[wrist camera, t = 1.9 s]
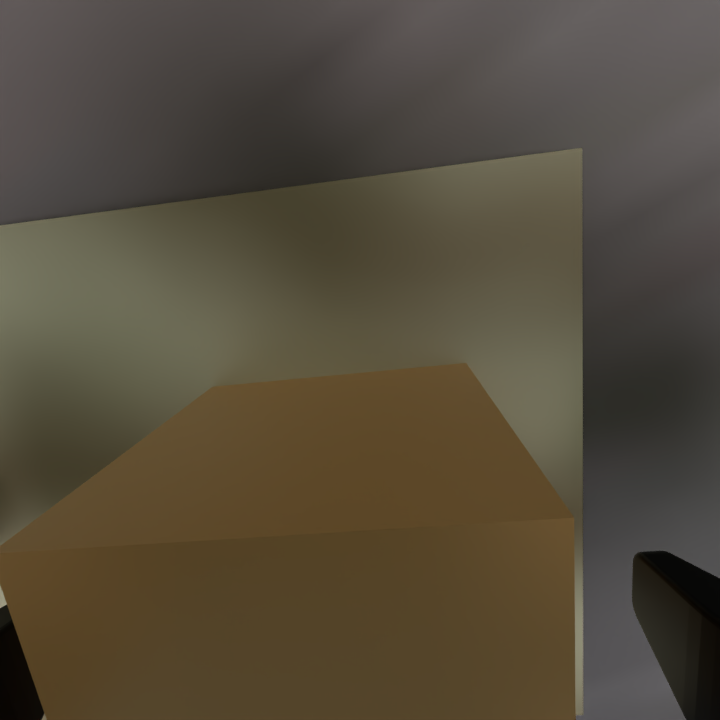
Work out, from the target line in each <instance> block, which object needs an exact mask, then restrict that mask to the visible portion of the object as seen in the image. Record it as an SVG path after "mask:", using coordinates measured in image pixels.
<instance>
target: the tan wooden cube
mask: <svg viewBox="0 0 720 720" xmlns="http://www.w3.org/2000/svg"><path fill="white" fill-rule="evenodd" d="M0 586H1V589H2V591H3V594H4V597H5V600H6V603H7V606H8V609H9V612H10V615H11V618H12V620H13V623H14V626H15V629H16V632H17V635H18V638H19V641H20V644H21V647H22V649H23V652H24V655H25V658H26V661H27V664H28V667H29V670H30V673H31V676H32V679H33V681H34V684H35V687H36V690H37V693H38V696H39V699H40V702H41V705H42V708H43V710H44V713H45V716H46V719H47V720H576V707H575V555H574V517H573V515H572V514H571V512H570V511H569V509H568V508H567V507H566V505H565V504H564V502H563V501H562V499H561V498H560V497H559V495H558V494H557V492H556V491H555V489H554V488H553V486H552V485H551V484H550V482H549V481H548V479H547V478H546V476H545V475H544V474H543V472H542V471H541V469H540V468H539V466H538V465H537V464H536V462H535V461H534V459H533V458H532V456H531V455H530V454H529V452H528V451H527V449H526V448H525V446H524V445H523V444H522V442H521V441H520V439H519V438H518V436H517V435H516V434H515V432H514V431H513V429H512V428H511V426H510V425H509V423H508V422H507V421H506V419H505V418H504V416H503V415H502V413H501V412H500V411H499V409H498V408H497V406H496V405H495V403H494V402H493V401H492V399H491V398H490V396H489V395H488V393H487V392H486V391H485V389H484V388H483V386H482V385H481V383H480V382H479V381H478V379H477V378H476V376H475V375H474V373H473V372H472V371H471V369H470V368H469V366H468V365H467V363H460V364H449V365H438V366H428V367H417V368H406V369H396V370H385V371H374V372H364V373H353V374H342V375H332V376H321V377H310V378H300V379H289V380H278V381H268V382H257V383H247V384H236V385H225V386H215V387H211V388H210V389H209V390H207V391H206V392H205V393H203V394H202V395H201V396H199V397H198V398H197V399H195V400H194V401H193V402H191V403H190V404H189V405H187V406H186V407H185V408H183V409H182V410H181V411H179V412H178V413H177V414H175V415H174V416H173V417H171V418H170V419H169V420H167V421H166V422H165V423H163V424H162V425H161V426H159V427H158V428H157V429H155V430H154V431H153V432H151V433H150V434H149V435H147V436H146V437H145V438H143V439H142V440H141V441H139V442H138V443H137V444H135V445H134V446H133V447H131V448H130V449H129V450H127V451H126V452H125V453H123V454H122V455H121V456H119V457H118V458H117V459H115V460H114V461H113V462H111V463H110V464H109V465H107V466H106V467H105V468H103V469H102V470H101V471H99V472H98V473H97V474H95V475H94V476H93V477H91V478H90V479H89V480H87V481H86V482H85V483H83V484H82V485H81V486H79V487H78V488H77V489H75V490H74V491H73V492H71V493H70V494H69V495H67V496H66V497H65V498H63V499H62V500H61V501H59V502H58V503H57V504H55V505H54V506H53V507H51V508H50V509H49V510H47V511H46V512H45V513H43V514H42V515H41V516H39V517H38V518H37V519H35V520H34V521H33V522H31V523H30V524H29V525H27V526H26V527H25V528H23V529H22V530H21V531H19V532H18V533H17V534H15V535H14V536H13V537H11V538H10V539H9V540H7V541H6V542H5V543H3V544H2V545H1V546H0Z"/></svg>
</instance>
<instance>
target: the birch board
mask: <svg viewBox="0 0 720 720" xmlns="http://www.w3.org/2000/svg"><path fill="white" fill-rule="evenodd" d="M460 363H467V365H468V366H469V368H470V369H471V371H472V372H473V373H474V375H475V376H476V378H477V379H478V381H479V382H480V383H481V385H482V386H483V388H484V389H485V391H486V392H487V393H488V395H489V396H490V398H491V399H492V401H493V402H494V403H495V405H496V406H497V408H498V409H499V411H500V412H501V413H502V415H503V416H504V418H505V419H506V421H507V422H508V423H509V425H510V426H511V428H512V429H513V431H514V432H515V434H516V435H517V436H518V438H519V439H520V441H521V442H522V444H523V445H524V446H525V448H526V449H527V451H528V452H529V454H530V455H531V456H532V458H533V459H534V461H535V462H536V464H537V465H538V466H539V468H540V469H541V471H542V472H543V474H544V475H545V476H546V478H547V479H548V481H549V482H550V484H551V485H552V486H553V488H554V489H555V491H556V492H557V494H558V495H559V497H560V498H561V499H562V501H563V502H564V504H565V505H566V507H567V508H568V509H569V511H570V512H571V514H572V515H573V517H574V555H575V707H576V715H583V279H582V148H577V149H569V150H562V151H554V152H547V153H539V154H532V155H524V156H517V157H509V158H502V159H494V160H487V161H480V162H472V163H465V164H457V165H450V166H442V167H435V168H427V169H420V170H412V171H405V172H397V173H390V174H382V175H375V176H367V177H360V178H352V179H345V180H337V181H330V182H322V183H315V184H307V185H300V186H292V187H285V188H277V189H270V190H262V191H255V192H247V193H240V194H232V195H225V196H217V197H210V198H202V199H195V200H187V201H180V202H172V203H165V204H157V205H150V206H142V207H135V208H128V209H120V210H113V211H105V212H98V213H90V214H83V215H75V216H68V217H60V218H53V219H45V220H38V221H30V222H23V223H15V224H8V225H0V546H1V545H2V544H3V543H5V542H6V541H7V540H9V539H10V538H11V537H13V536H14V535H15V534H17V533H18V532H19V531H21V530H22V529H23V528H25V527H26V526H27V525H29V524H30V523H31V522H33V521H34V520H35V519H37V518H38V517H39V516H41V515H42V514H43V513H45V512H46V511H47V510H49V509H50V508H51V507H53V506H54V505H55V504H57V503H58V502H59V501H61V500H62V499H63V498H65V497H66V496H67V495H69V494H70V493H71V492H73V491H74V490H75V489H77V488H78V487H79V486H81V485H82V484H83V483H85V482H86V481H87V480H89V479H90V478H91V477H93V476H94V475H95V474H97V473H98V472H99V471H101V470H102V469H103V468H105V467H106V466H107V465H109V464H110V463H111V462H113V461H114V460H115V459H117V458H118V457H119V456H121V455H122V454H123V453H125V452H126V451H127V450H129V449H130V448H131V447H133V446H134V445H135V444H137V443H138V442H139V441H141V440H142V439H143V438H145V437H146V436H147V435H149V434H150V433H151V432H153V431H154V430H155V429H157V428H158V427H159V426H161V425H162V424H163V423H165V422H166V421H167V420H169V419H170V418H171V417H173V416H174V415H175V414H177V413H178V412H179V411H181V410H182V409H183V408H185V407H186V406H187V405H189V404H190V403H191V402H193V401H194V400H195V399H197V398H198V397H199V396H201V395H202V394H203V393H205V392H206V391H207V390H209V389H210V388H211V387H215V386H225V385H236V384H247V383H257V382H268V381H278V380H289V379H300V378H310V377H321V376H332V375H342V374H353V373H364V372H374V371H385V370H396V369H406V368H417V367H428V366H438V365H449V364H460ZM5 605H7V603H6V600H5V597H4V594H3V591H2V589H1V586H0V608H1V607H3V606H5ZM42 720H47V719H46V716H45V714H44V716H43V718H42Z"/></svg>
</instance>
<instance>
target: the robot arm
mask: <svg viewBox="0 0 720 720" xmlns="http://www.w3.org/2000/svg"><path fill="white" fill-rule="evenodd" d="M632 602H633V607H634V611H635V614H636V617H637V619H638V621H639V623H640V625H641V627H642V629H643V631H644V633H645V635H646V638H647V640H648V642H649V644H650V646H651V648H652V650H653V652H654V654H655V656H656V658H657V660H658V662H659V664H660V667H661V669H662V671H663V673H664V675H665V677H666V679H667V681H668V683H669V685H670V687H671V689H672V691H673V693H674V696H675V698H676V700H677V702H678V704H679V706H680V708H681V710H682V712H683V714H684V716H685V718H686V720H720V578H718V577H716V576H714V575H712V574H710V573H708V572H706V571H704V570H702V569H700V568H698V567H696V566H694V565H692V564H690V563H688V562H686V561H684V560H683V559H681V558H679V557H677V556H675V555H673V554H671V553H668V552H665V551H650V552H639V553H637V554H636V555H635V556H634V559H633V582H632ZM44 714H45V713H44V710H43V708H42V705H41V702H40V699H39V696H38V693H37V690H36V687H35V684H34V681H33V679H32V676H31V673H30V670H29V667H28V664H27V661H26V658H25V655H24V652H23V649H22V647H21V644H20V641H19V638H18V635H17V632H16V629H15V626H14V623H13V620H12V618H11V615H10V612H9V609H8V606H7V605H5V606H3V607H1V608H0V720H42V718H43V716H44Z"/></svg>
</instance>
